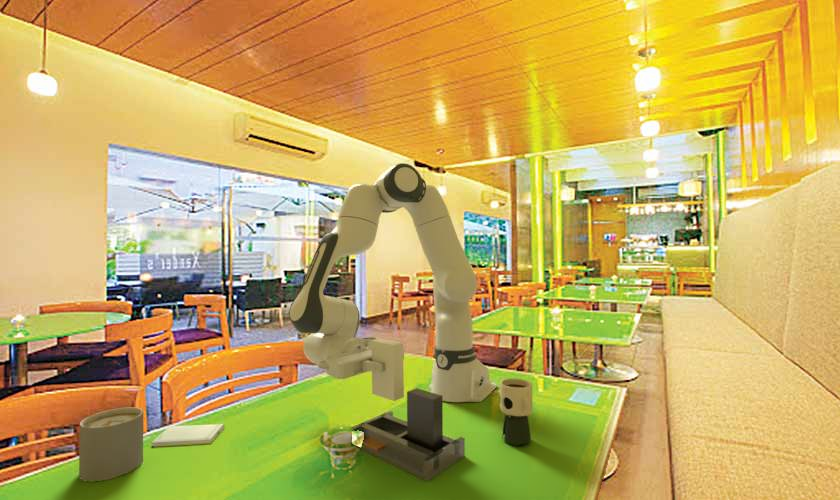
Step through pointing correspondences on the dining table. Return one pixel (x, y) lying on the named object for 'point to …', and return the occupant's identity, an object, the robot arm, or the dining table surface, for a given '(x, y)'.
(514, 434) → the character mug
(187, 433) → the hard drive
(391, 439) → the rack
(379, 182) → the robot arm
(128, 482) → the dining table surface
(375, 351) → the beige rectangular block
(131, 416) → the coffee mug
